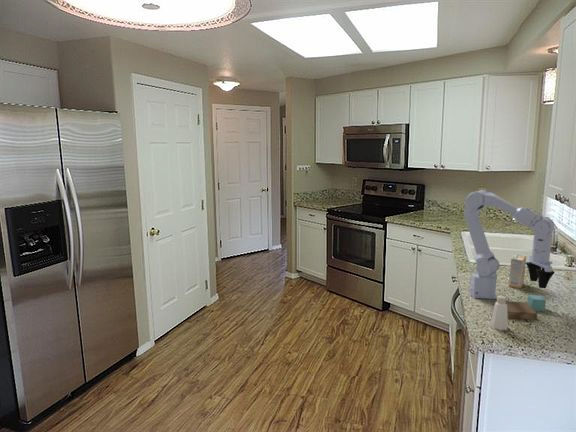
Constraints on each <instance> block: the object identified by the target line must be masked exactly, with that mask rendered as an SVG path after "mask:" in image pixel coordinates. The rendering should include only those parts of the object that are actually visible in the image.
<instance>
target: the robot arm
mask: <svg viewBox="0 0 576 432" xmlns="http://www.w3.org/2000/svg"><path fill="white" fill-rule="evenodd" d="M491 206H492V207H495V208H498V209H500V210H502V211H504V212H505V213H508V214H510V215H512V216H513V218H514V220H515V221H516V222H519V223H520V224H522V225H524V226H526V227H528V228H530V229H532V231H533V232H534V234H533V238H532V239H533V241H532V250H531V255H529V258H528V260H529V261H526V265H525V266H526V267H527V270H528V273H529V280H530V281H531V282H538V288H539V289H546V288H547V286H548V283H549V281H550V280H551V278H552V276H553V275H555V271H554V270H553V267H552V266H551V265H552V264H554V263H553V261H552V260H550V258H551V248H552V239H553V238H552V233H553V232H552V231H553V230H554V228H555V222H554V220H553V219H551V218H550V217H547V216H544V215H543V214H541V213H540V214H538V213H537V212H535V211H532V210H531V208H530V207H529V206H527V207H525V206H524V207H523V206H522V207H518V206H515V205H514V204H512V203H511V202H509V201H508V200H505V199H503V198H502V197H501V196H498V195H497V194H495V193H493V192H489V191H488V190H486V189H479V190H477V191H472V192H469V194H468V195H467V197H465V199H464V209H463V217H464V221H465V222H466V226H467V229H468V232H469V234H470V239H471V241H472V244H473V248H474V250H475V253H476V257H475V262H476V266H475V271H476V274H475V273H474V274H471V276H470V284H469V293H470V295H472V297H473V298H474V299H489V300H490V299H491V300H497V296H498V295H497V293H496V291H497V280H498V273H497V271H498V270H499V269H500V261H499V260H498V259H497V258H496V256H495V254H494V253H493V252H492V251H491V250H490V247H489V246H490V245H489V243H488V241H487V237H486V235H485V231H484V229H483V225H482V222H481V219H480V216H479V214H480V212H481V211H482V209H483V208H484V207H491Z"/></svg>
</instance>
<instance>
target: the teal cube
mask: <svg viewBox="0 0 576 432" xmlns="http://www.w3.org/2000/svg"><path fill="white" fill-rule="evenodd" d="M546 301H547V300H546V299H545V298H544V297H543V296H542V295H536V294H535V295H534V294H528V295H527V302H526V303H527V304H528V305H529V306H530V307H531V308H532V309H533V310H534V311H535V312H537V311H538V312H545V311H546V304H547V303H546Z"/></svg>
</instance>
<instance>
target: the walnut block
mask: <svg viewBox="0 0 576 432" xmlns="http://www.w3.org/2000/svg"><path fill="white" fill-rule="evenodd" d="M505 304H507V316H508V319H515V320H516V319H517V320H518V319H519V320H533V321H534V320H535V321H536V320H537V319H538V313H537V311H535V310H533V309H532V308H531V307H530V306H529V305H528V304H527V302H522V301H508V300H506V302H505Z"/></svg>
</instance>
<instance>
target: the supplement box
mask: <svg viewBox="0 0 576 432" xmlns="http://www.w3.org/2000/svg"><path fill="white" fill-rule="evenodd" d="M526 262H527V256H526V255H522V254H514V255H513V256H512V257H511V258H510V266H509V279H508V280H509V282H508V287H509V288H515V289H521V288H522V287H523V285H524V283H525V273H526V266H527V265H526Z"/></svg>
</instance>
